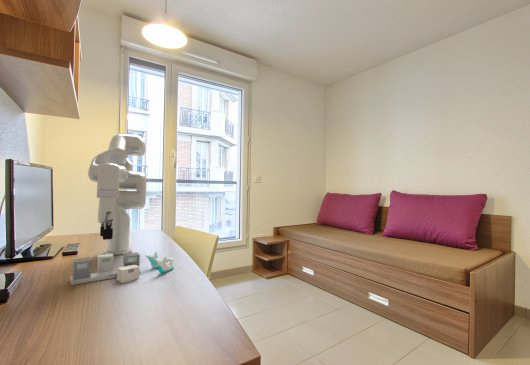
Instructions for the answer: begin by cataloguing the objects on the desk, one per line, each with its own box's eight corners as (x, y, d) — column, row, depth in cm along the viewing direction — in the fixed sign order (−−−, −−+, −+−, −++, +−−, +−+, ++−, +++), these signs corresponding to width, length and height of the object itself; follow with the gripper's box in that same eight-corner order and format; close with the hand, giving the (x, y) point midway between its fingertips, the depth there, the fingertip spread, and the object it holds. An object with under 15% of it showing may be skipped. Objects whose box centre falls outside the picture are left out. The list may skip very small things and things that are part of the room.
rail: (70, 280, 94) (71, 259, 94) (137, 270, 107) (138, 251, 107) (70, 285, 90) (71, 262, 90) (140, 273, 103) (141, 254, 103)
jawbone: (181, 268, 108) (173, 249, 106) (163, 280, 103) (155, 260, 101) (168, 261, 117) (161, 244, 115) (152, 272, 112) (143, 253, 109)
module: (97, 271, 105) (97, 255, 105) (111, 269, 108) (112, 253, 108) (98, 274, 101) (98, 257, 101) (113, 272, 104) (113, 255, 104)
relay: (117, 280, 96) (117, 267, 96) (133, 276, 100) (134, 264, 100) (122, 283, 93) (122, 270, 93) (139, 278, 98) (139, 266, 98)
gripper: (95, 194, 109) (93, 235, 109) (98, 194, 96) (96, 241, 95) (115, 194, 114) (113, 234, 113) (122, 194, 100) (120, 239, 99)
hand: (106, 237), depth 104 cm, fingers open, 9 cm apart
